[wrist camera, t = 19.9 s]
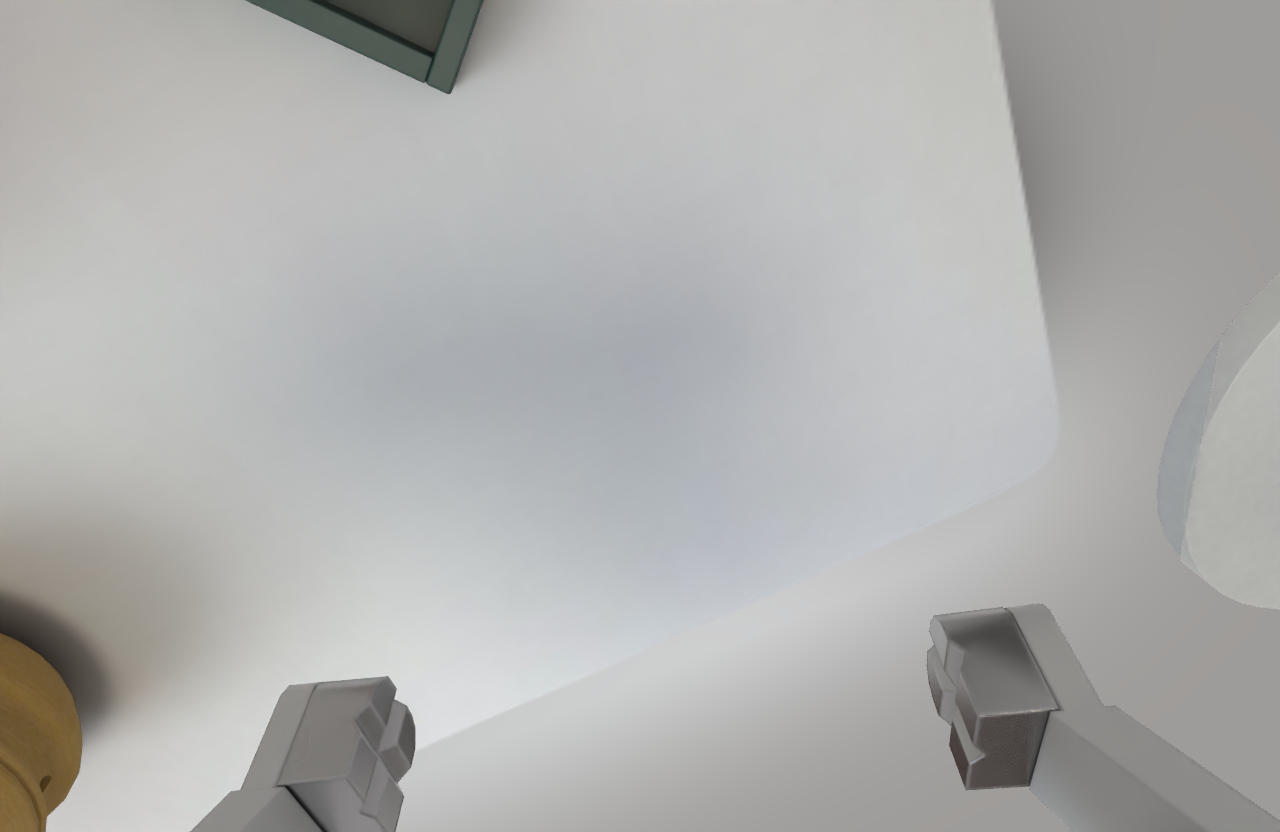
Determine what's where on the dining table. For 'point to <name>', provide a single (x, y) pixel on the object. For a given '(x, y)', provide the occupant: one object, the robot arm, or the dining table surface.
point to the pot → (34, 738)
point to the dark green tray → (392, 31)
